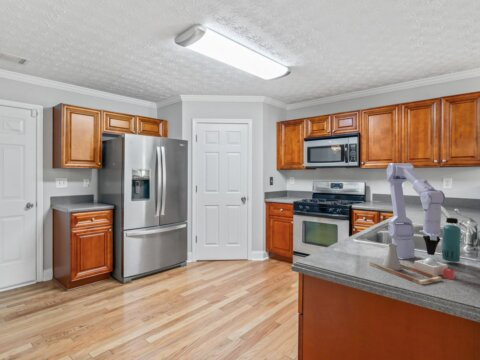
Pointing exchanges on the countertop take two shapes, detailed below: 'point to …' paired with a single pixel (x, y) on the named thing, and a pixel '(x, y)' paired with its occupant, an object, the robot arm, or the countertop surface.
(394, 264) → the flask
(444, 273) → the red die
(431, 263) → the dome
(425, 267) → the dome housing
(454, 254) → the beverage bottle
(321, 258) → the countertop surface
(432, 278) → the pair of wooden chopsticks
